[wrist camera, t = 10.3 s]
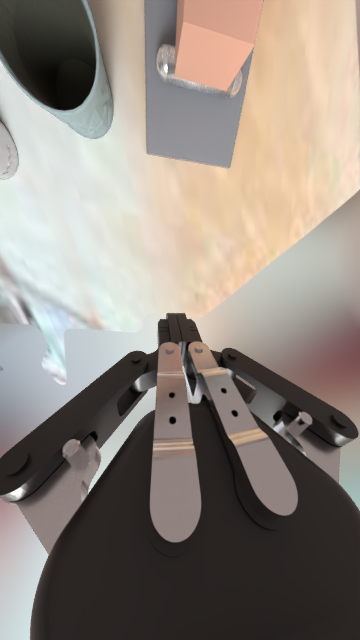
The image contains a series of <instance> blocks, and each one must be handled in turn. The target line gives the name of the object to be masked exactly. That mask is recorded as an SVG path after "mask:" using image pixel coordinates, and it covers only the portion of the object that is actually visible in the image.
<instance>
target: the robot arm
mask: <svg viewBox="0 0 360 640" xmlns="http://www.w3.org/2000/svg"><path fill="white" fill-rule="evenodd" d="M17 167H18V155H17V150H16V147H15V144H14V142H13V140H12V138H11V136H10V134H9V132H8V131H7V129H6V128H5V126H4V125H3V124H2V123H1V121H0V180H5V179H8V178H10V177H12V176H13V175H14V174H15V172H16V170H17ZM182 366H184V368H185V371H184V373H183V370H182ZM236 375H238V376H240V377H241V378H243V379H244V380H246V381H247V382H248V383H250V384H251V385H253V386H254V387H255V388H256V390H254V389H252V388H251V387H249V386H248V385H246V384H245V383H243V382H242V381H241V380H239V379H238V378H236ZM186 384H187V388H188V391H189V395H190V398H191V403H188V397H187V388H186ZM155 386H157V389H156V407H155V410H153V411H151V412H150V413H148V414H147V415H146V416H144V417H143V418H142V419H141V420H140V421H139V422H138V424H137V425H136V426H135V428H134V429H133V431H132V432H131V434H130V435H129V436H128V438H127V439H126V441H125V442H124V444H123V445H122V446H121V448H120V449H119V451H118V452H117V454H116V455H115V457H114V458H113V460H112V461H111V462H110V464H109V465H108V467H107V468H106V469H105V471H104V472H103V474H102V475H101V477H100V478H99V479H98V481H97V482H96V484H95V485H94V487H93V488H92V489H91V491H90V492H89V494H88V489H89V486H90V483H91V481H92V479H93V477H94V475H95V474H96V471H97V470H98V468H99V465H100V462H101V454H100V450H99V449H100V448H101V447H102V446H103V444H104V443H105V442H106V441H107V439H108V438H109V437H110V436H111V435H112V433H113V432H114V431H115V430H116V429H117V428H118V426H119V425H120V424H121V422H123V420H124V419H125V418H126V417H127V416H128V414H129V413H130V412H131V411H132V410H133V408H134V407H135V406H136V405H137V404H138V402H139V401H140V400H141V399H142V397H143V396H144V395H145V394H146V393H147V391H148V389H150V388H152V387H155ZM357 437H358V430H357V428H356V426H355V424H354V423H353V422H352V421H351V420H350V419H349V418H348V417H347V416H346V415H345V414H343V413H342V412H341V411H339V410H337V409H336V408H334V407H332V406H330V405H328V404H327V403H325V402H324V401H322V400H320V399H318V398H317V397H315V396H313V395H312V394H310V393H308V392H307V391H305V390H303V389H302V388H300V387H298V386H297V385H295V384H293V383H291V382H290V381H288V380H286V379H285V378H283V377H281V376H280V375H278V374H276V373H275V372H273V371H271V370H269V369H268V368H266V367H264V366H263V365H261V364H259V363H258V362H256V361H254V360H252V359H251V358H249V357H247V356H246V355H244V354H242V353H240V352H239V351H237V350H235V349H232V348H225V349H223V351H222V353H221V352H216V351H212V350H210V349H209V347H208V346H207V345H206V344H204V343H203V342H202V340H201V337H200V335H199V332H198V329H197V327H196V324H195V322H193V321H192V320H191V319H187V318H186V315H185V313H167V314H166V319H160V321H159V322H158V349H157V350H156V351H155V352H153V353H151V354H146V353H144V352H142V351H133V352H130V353H128V354H127V355H126V356H125V357H124V358H122V359H121V360H120V361H119V362H117V363H116V364H115V365H114V366H112V367H111V368H110V369H109V370H108V371H106V372H105V373H104V374H102V375H101V376H100V377H99V378H98V379H96V380H95V381H94V382H93V383H91V384H90V385H89V386H88V387H86V388H85V389H84V390H83V391H81V392H80V393H79V394H78V395H76V396H75V397H74V398H73V399H72V400H70V401H69V402H68V403H67V404H65V405H64V406H63V407H62V408H61V409H59V410H58V411H57V412H55V413H54V414H53V415H52V416H51V417H49V418H48V419H47V420H46V421H44V422H43V423H42V424H41V425H40V426H38V427H37V428H36V429H35V430H33V431H32V432H31V433H30V434H28V435H27V436H26V437H25V438H23V439H22V440H21V441H20V442H18V443H17V444H16V445H15V446H14V447H12V448H11V449H10V450H9V451H7V452H6V453H5V454H4V455H3V456H2V457H1V458H0V498H2V499H3V500H4V501H5V502H7V503H9V504H12V505H14V506H16V507H19V508H20V510H21V512H22V513H23V515H24V516H25V518H26V519H27V521H28V522H29V524H30V526H31V527H32V529H33V531H34V532H35V534H36V535H37V537H38V538H39V540H40V542H41V543H42V545H43V546H44V548H45V549H46V551H47V553H48V554H49V556H48V559H47V561H46V563H45V566H44V568H43V571H42V574H41V577H40V580H39V584H38V587H37V591H36V594H35V599H34V603H33V609H32V616H31V627H30V640H360V511H359V509H358V507H357V506H356V505H355V503H354V501H352V499H351V497H350V496H349V495H348V494H347V492H346V491H345V490H344V489H343V488H342V487H341V486H340V485H339V462H340V448H341V447H342V446H344V445H345V444H347V443H349V442H350V441H352V440H354V439H355V438H357Z"/></svg>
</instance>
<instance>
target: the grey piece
mask: <svg viewBox="0 0 360 640" xmlns="http://www.w3.org/2000/svg"><path fill="white" fill-rule="evenodd" d="M177 2H178V0H145V48H146V121H147V154H149V155H155V156H161V157H166V158H172V159H178V160H183V161H189V162H195V163H201V164H206V165H212V166H218V167H224V168H230V165H231V160H232V155H233V150H234V145H235V140H236V135H237V130H238V125H239V120H240V115H241V109H242V104H243V99H244V94H245V89H246V84H247V79H248V74H249V69H250V64H251V59H252V54H253V49H254V47H253V49H252V51H251V52H250V54H249V55H248V57H247V59H246V60H245V62H244V64H243V65H242V67H241V68H240V69H241V72H242V82H241V87H240V89H239V91H238V93H237V94H236V96H235V97H234V98H232V99H226V98H222V97H218V96H214V95H210V94H206V93H202V92H198V91H194V90H190V89H186V88H183V87H179V86H175V85H171V84H167V83H164V82H163V81H162V80H161V79H160V77H159V75H158V72H157V66H156V58H157V53H158V50H159V48H160V47H161V46H162V45H163V44H169V45H173V46H176V24H177Z"/></svg>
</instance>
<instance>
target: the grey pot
mask: <svg viewBox="0 0 360 640" xmlns="http://www.w3.org/2000/svg"><path fill="white" fill-rule="evenodd" d="M0 61H1V62H2V64H3V66H4V67H5V69H6V70H7V72H8V73H9V75H10V76H11V77H12V79H13V80H14V81H15V83H16V84H17V85H18V86H19V87H20V88H21V90H22V91H23V92H24V93H25V94H26V95H27V96H28V97H29V98H30V99H31V100H33V101H34V102H35V103H37V104H38V105H39V106H41V107H42V108H44V109H45V110H47V111H48V112H50V113H51V114H53V115H54V116H55V117H57V118H58V119H60V120H61V121H63V122H64V123H67V124H68V125H69V127H71V128H72V129H73V130H75V131H76V132H77V133H79V134H80V135H82V136H84V137H86V138H90V139H97V138H100V137H102V136H104V135H105V134H106V133H107V132H108V130H109V129H110V127H111V123H112V119H113V100H112V95H111V91H110V87H109V83H108V78H107V75H106V71H105V67H104V64H103V59H102V55H101V50H100V46H99V41H98V37H97V32H96V27H95V23H94V19H93V16H92V13H91V9H90V7H89V4H88V1H87V0H0Z"/></svg>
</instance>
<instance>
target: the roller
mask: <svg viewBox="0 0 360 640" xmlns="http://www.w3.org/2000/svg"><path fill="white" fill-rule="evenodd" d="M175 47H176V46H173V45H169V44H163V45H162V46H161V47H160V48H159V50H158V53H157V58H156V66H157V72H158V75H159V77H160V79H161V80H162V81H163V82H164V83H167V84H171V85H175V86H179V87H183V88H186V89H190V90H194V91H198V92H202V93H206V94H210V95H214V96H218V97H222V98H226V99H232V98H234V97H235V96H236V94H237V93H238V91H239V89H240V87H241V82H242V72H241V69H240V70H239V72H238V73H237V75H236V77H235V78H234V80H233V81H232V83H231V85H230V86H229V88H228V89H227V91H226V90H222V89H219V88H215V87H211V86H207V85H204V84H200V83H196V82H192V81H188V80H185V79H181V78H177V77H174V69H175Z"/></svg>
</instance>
